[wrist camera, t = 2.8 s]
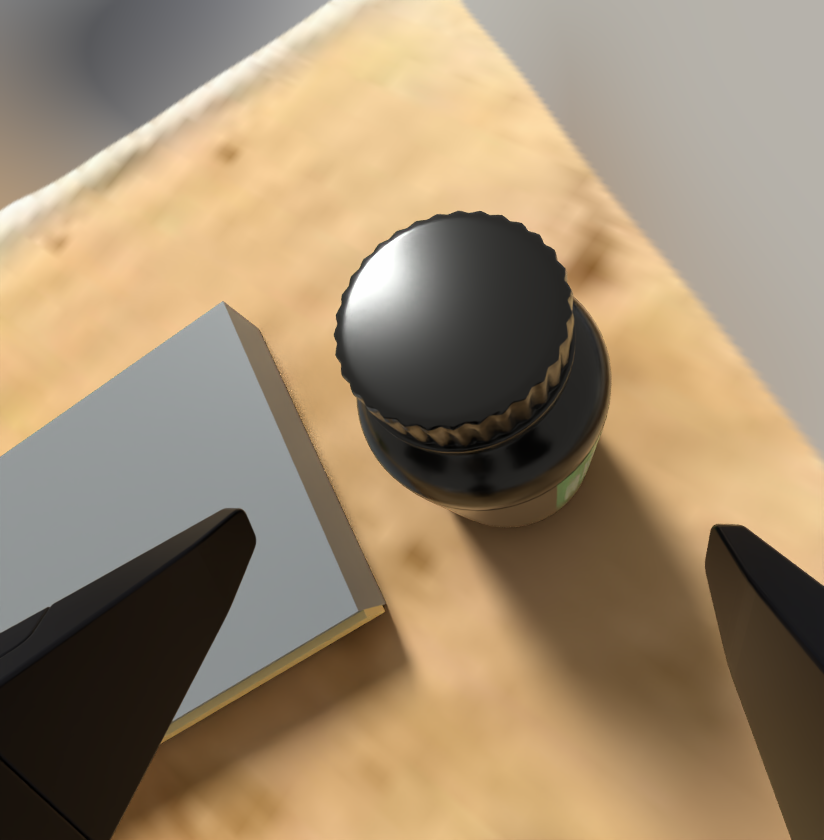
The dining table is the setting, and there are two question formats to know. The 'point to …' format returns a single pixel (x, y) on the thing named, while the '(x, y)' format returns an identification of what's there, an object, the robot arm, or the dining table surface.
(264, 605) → the gray hardcover book
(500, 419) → the supplement bottle
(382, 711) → the dining table surface
